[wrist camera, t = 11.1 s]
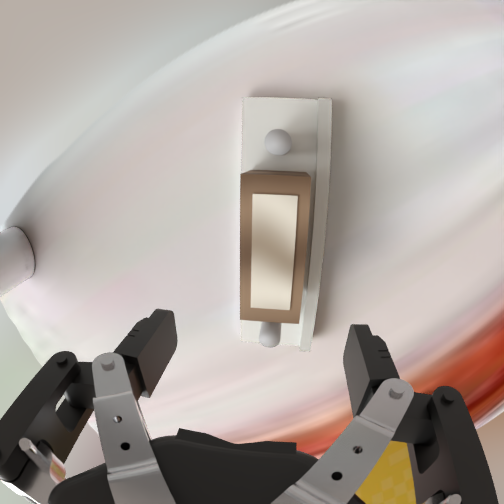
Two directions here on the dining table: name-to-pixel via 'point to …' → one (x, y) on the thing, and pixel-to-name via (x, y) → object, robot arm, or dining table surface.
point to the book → (390, 478)
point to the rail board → (318, 167)
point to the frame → (273, 244)
